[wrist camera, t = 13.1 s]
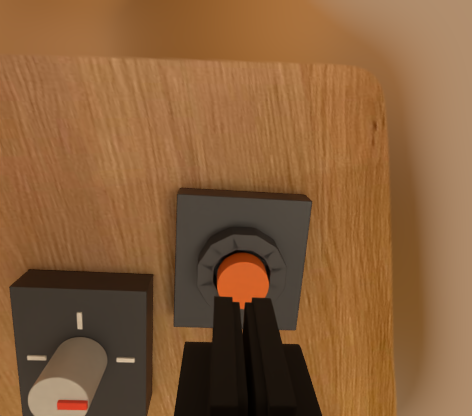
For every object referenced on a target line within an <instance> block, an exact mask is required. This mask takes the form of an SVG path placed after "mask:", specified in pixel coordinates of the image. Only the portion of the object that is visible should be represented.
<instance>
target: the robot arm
mask: <svg viewBox="0 0 472 416" xmlns="http://www.w3.org/2000/svg"><path fill="white" fill-rule="evenodd" d="M174 416H322V413H321V410H320V407H319V404H318V401H317V398H316V394H315V391H314V388H313V385H312V382H311V378H310V375H309V372H308V369H307V366H306V363H305V359H304V356H303V353H302V350H301V347H300V345H298V344H282V341H281V337H280V333H279V329H278V325H277V320H276V316H275V312H274V308H273V304H272V300H271V298H256V297H252V301H251V302H245V306H244V321H243V335H242V324H241V313H240V302H233V298H232V297H220V296H214V314H213V338H212V342H185V345H184V351H183V358H182V365H181V372H180V378H179V385H178V392H177V398H176V405H175V412H174Z"/></svg>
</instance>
